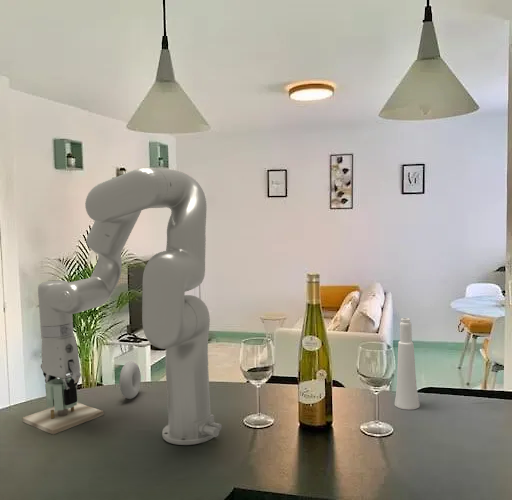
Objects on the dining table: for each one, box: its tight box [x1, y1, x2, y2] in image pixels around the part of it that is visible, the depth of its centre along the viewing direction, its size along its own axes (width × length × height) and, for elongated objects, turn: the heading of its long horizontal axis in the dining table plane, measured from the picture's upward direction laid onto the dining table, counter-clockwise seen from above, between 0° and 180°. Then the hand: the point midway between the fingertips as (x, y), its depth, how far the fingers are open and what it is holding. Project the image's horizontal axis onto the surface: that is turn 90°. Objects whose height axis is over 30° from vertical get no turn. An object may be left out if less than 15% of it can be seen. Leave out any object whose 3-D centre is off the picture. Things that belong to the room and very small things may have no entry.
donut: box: [119, 361, 142, 400], centre depth 146 cm, size 10×4×10 cm, turn 172°
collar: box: [44, 378, 79, 411], centre depth 133 cm, size 7×7×6 cm
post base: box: [21, 402, 104, 435], centre depth 134 cm, size 14×14×6 cm
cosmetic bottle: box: [394, 317, 421, 411], centre depth 132 cm, size 6×6×22 cm
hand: (62, 400), depth 133 cm, fingers closed on collar, 7 cm apart
